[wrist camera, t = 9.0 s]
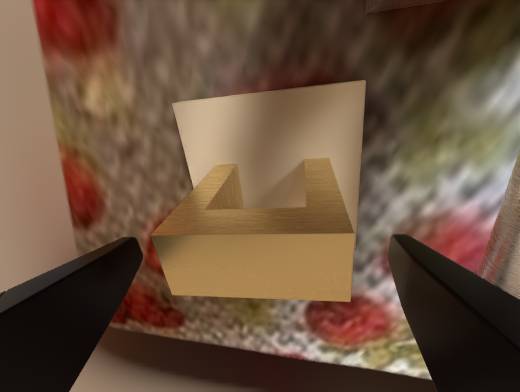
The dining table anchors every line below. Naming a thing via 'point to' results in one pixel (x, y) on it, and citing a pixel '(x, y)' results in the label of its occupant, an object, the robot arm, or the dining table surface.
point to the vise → (511, 210)
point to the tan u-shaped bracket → (259, 241)
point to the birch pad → (278, 140)
